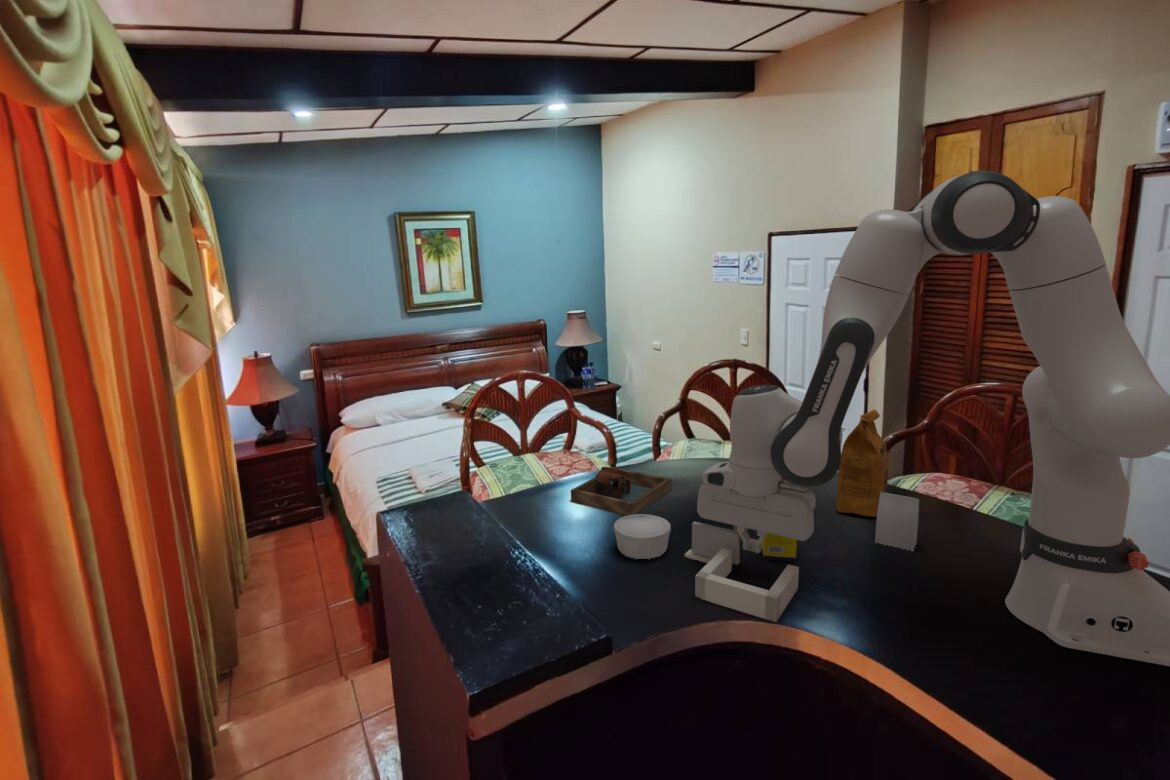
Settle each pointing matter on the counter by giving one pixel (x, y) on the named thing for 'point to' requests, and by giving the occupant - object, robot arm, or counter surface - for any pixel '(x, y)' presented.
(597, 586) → the counter surface
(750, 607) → the white handled frame
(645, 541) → the ramekin
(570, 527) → the counter surface
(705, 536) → the plate
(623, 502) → the frame
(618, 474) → the pottery mug
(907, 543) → the grey rectangular block
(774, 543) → the supplement box
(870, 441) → the coffee package
